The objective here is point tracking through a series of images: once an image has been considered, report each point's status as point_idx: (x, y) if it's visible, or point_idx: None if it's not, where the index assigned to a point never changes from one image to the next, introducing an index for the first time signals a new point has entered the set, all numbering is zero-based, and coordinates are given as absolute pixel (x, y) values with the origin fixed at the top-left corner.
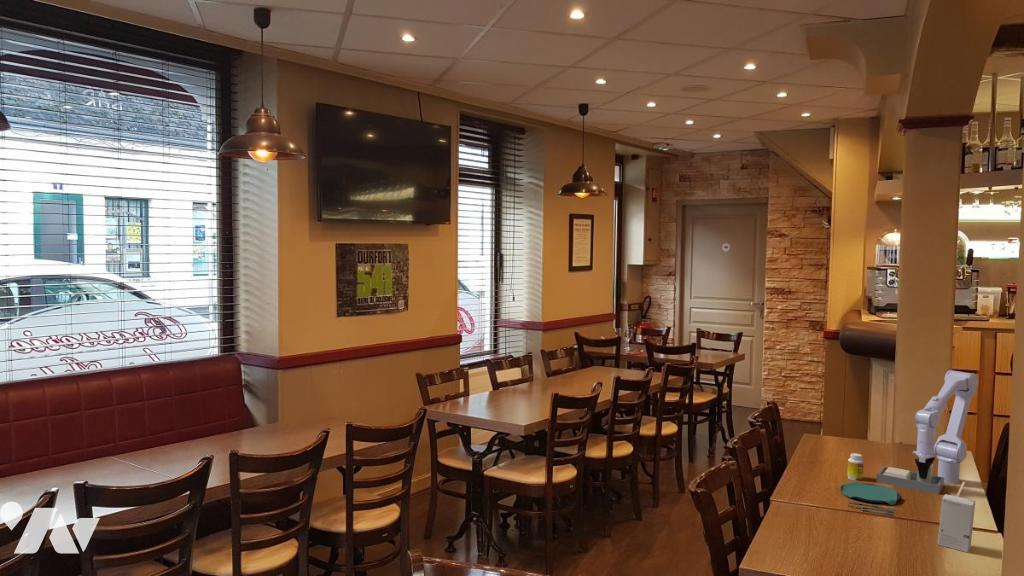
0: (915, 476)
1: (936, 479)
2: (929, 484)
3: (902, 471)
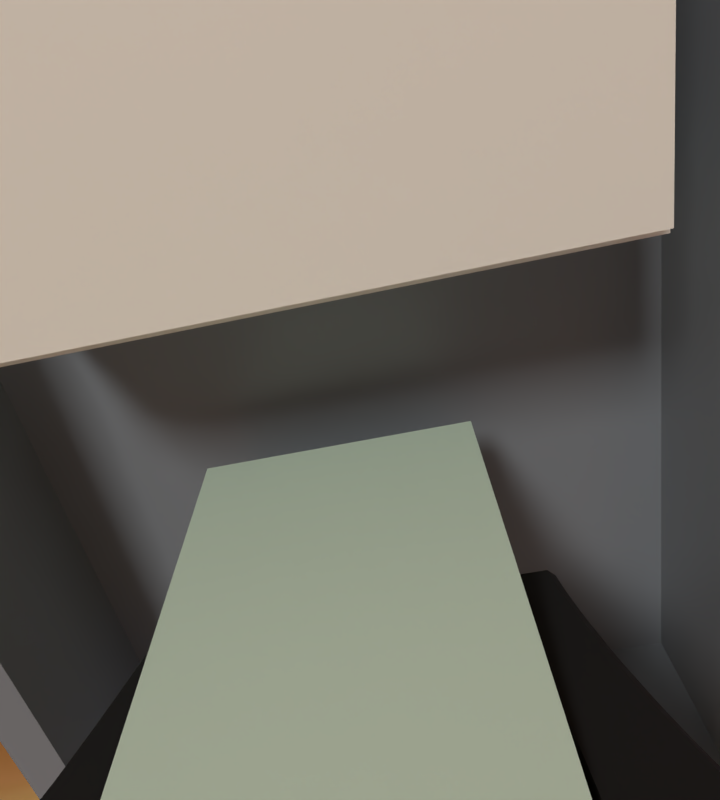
0: (715, 295)
1: (710, 669)
2: (41, 784)
3: (312, 75)
